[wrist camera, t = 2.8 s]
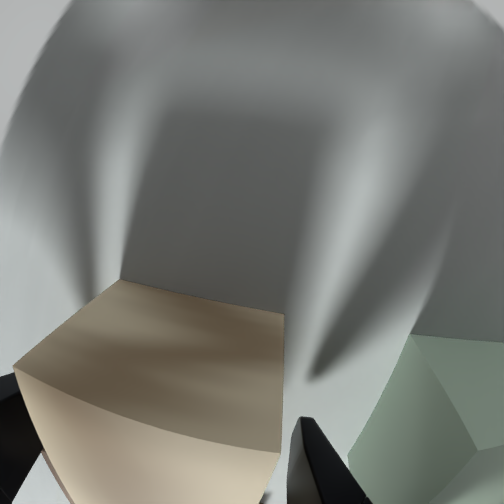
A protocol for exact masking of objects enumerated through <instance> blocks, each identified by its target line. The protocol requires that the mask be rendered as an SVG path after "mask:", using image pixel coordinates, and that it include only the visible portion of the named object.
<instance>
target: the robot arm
mask: <svg viewBox="0 0 504 504" xmlns="http://www.w3.org/2000/svg"><path fill="white" fill-rule="evenodd" d="M43 448H44V447H43V445H42V442H41V440H40V438H39V436H38V434H37V431H36V429H35V427H34V424H33V422H32V420H31V417H30V415H29V412H28V410H27V407H26V404H25V402H24V399H23V396H22V393H21V391H20V388H19V385H18V382H17V379H16V375H15V372H14V373H11V374H8V375H4V376H1V377H0V504H12V501H13V500H14V498H15V496H16V494H17V493H18V491H19V489H20V487H21V485H22V484H23V482H24V480H25V478H26V477H27V475H28V473H29V471H30V470H31V468H32V466H33V465H34V463H35V461H36V460H37V458H38V456H39V455H40V453H41V451H42V450H43ZM366 496H367V495H366V494H365V492H364V491H363V489H362V488H361V487H360V485H359V484H358V482H357V481H356V480H355V478H354V477H353V475H352V474H351V472H350V471H349V470H348V468H347V467H346V465H345V464H344V462H343V461H342V460H341V458H340V457H339V455H338V454H337V452H336V451H335V449H334V448H333V446H332V445H331V444H330V442H329V441H328V439H327V438H326V436H325V435H324V433H323V432H322V430H321V429H320V427H319V426H318V424H317V423H316V421H315V420H314V419H313V418H311V417H303V416H301V417H299V419H298V421H297V423H296V426H295V428H294V431H293V433H292V437H291V445H290V454H289V463H288V472H287V504H373V503H372V502H371V500H370V499H369V498H368V497H366Z"/></svg>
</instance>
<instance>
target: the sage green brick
mask: <svg viewBox="0 0 504 504" xmlns="http://www.w3.org/2000/svg"><path fill="white" fill-rule="evenodd" d="M348 461H349V468H350V472H351V474H352V475H353V477H354V478H355V480H356V481H357V482H358V484H359V485H360V487H361V488H362V489H363V491H364V492H365V494H366V495H367V496H366V497H368V498H369V499H370V500H371V502H372V503H373V504H504V342H490V341H477V340H465V339H454V338H443V337H434V336H424V335H415V334H409V336H408V339H407V341H406V343H405V346H404V348H403V350H402V353H401V355H400V357H399V360H398V362H397V364H396V366H395V368H394V371H393V373H392V375H391V377H390V379H389V381H388V383H387V385H386V387H385V389H384V391H383V393H382V395H381V397H380V399H379V401H378V403H377V405H376V407H375V409H374V411H373V412H372V414H371V416H370V418H369V420H368V421H367V423H366V425H365V427H364V429H363V430H362V432H361V434H360V435H359V437H358V439H357V441H356V442H355V444H354V446H353V447H352V449H351V450H350V452H349V454H348Z"/></svg>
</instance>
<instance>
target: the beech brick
mask: <svg viewBox="0 0 504 504" xmlns="http://www.w3.org/2000/svg"><path fill="white" fill-rule="evenodd" d="M13 369H14V372H15V375H16V379H17V382H18V385H19V388H20V391H21V393H22V396H23V399H24V402H25V404H26V407H27V410H28V412H29V415H30V417H31V420H32V422H33V424H34V427H35V429H36V431H37V434H38V436H39V438H40V440H41V442H42V445H43V447H44V449H45V451H46V453H47V455H48V457H49V459H50V461H51V463H52V465H53V467H54V469H55V470H56V472H57V474H58V476H59V478H60V480H61V481H62V483H63V485H64V486H65V488H66V490H67V492H68V493H69V495H70V497H71V498H72V500H73V501H74V503H75V504H259V502H260V500H261V498H262V496H263V493H264V491H265V489H266V487H267V485H268V482H269V480H270V478H271V476H272V473H273V471H274V469H275V466H276V464H277V462H278V459H279V457H280V455H281V440H282V412H283V372H284V314H281V313H275V312H270V311H264V310H259V309H254V308H248V307H243V306H238V305H233V304H228V303H223V302H218V301H213V300H208V299H204V298H199V297H194V296H190V295H185V294H180V293H176V292H171V291H167V290H163V289H158V288H154V287H150V286H146V285H141V284H137V283H133V282H129V281H125V280H121V279H119V280H118V281H117V282H115V283H114V284H113V285H111V286H110V287H109V288H107V289H106V290H105V291H103V292H102V293H101V294H99V295H98V296H97V297H96V298H94V299H93V300H92V301H90V302H89V303H88V304H87V305H85V306H84V307H83V308H82V309H80V310H79V311H78V312H76V313H75V314H74V315H73V316H71V317H70V318H69V319H68V320H66V321H65V322H64V323H63V324H62V325H60V326H59V327H58V328H57V329H55V330H54V331H53V332H52V333H51V334H49V335H48V336H47V337H46V338H44V339H43V340H42V341H41V342H40V343H38V344H37V345H36V346H35V347H34V348H33V349H31V350H30V351H29V352H28V353H27V354H25V355H24V356H23V357H22V358H21V359H20V360H18V361H17V362H16V363H15V364H14V365H13Z"/></svg>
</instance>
